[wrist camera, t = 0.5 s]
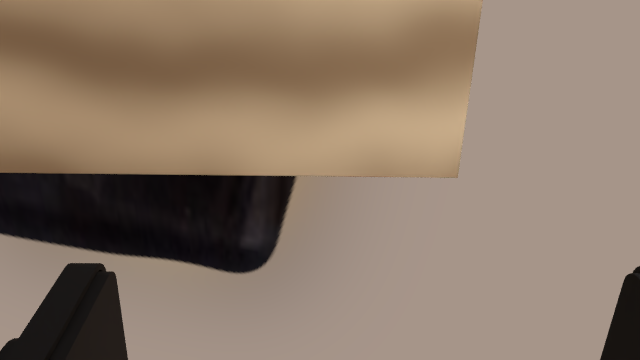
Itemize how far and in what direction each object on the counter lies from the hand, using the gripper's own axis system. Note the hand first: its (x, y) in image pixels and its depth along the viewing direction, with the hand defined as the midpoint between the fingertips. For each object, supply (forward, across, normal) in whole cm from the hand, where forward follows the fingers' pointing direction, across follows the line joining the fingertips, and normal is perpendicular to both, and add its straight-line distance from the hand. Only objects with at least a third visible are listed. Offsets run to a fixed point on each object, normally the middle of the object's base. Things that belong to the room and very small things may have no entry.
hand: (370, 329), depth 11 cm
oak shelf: (+27, +4, -2) cm, 27 cm away
